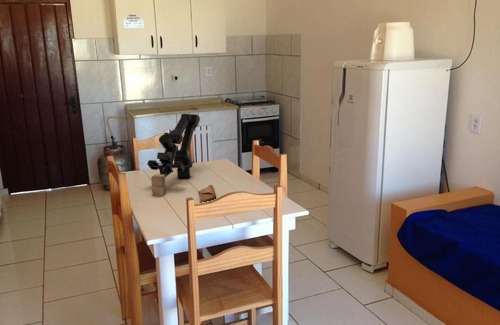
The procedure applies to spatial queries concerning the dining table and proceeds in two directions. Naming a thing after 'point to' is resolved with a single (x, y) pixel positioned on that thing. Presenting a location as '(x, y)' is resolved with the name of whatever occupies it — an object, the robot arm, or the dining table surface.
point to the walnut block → (158, 185)
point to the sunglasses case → (207, 194)
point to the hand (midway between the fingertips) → (161, 180)
